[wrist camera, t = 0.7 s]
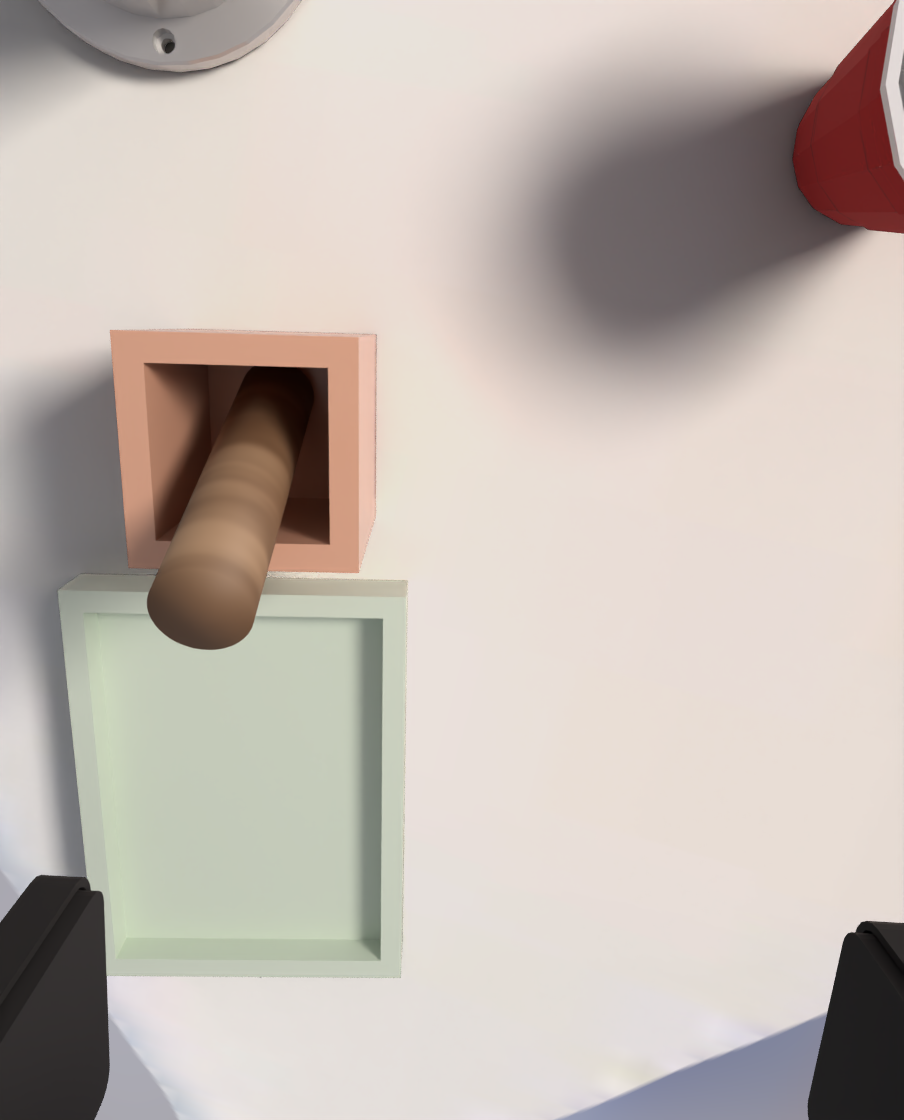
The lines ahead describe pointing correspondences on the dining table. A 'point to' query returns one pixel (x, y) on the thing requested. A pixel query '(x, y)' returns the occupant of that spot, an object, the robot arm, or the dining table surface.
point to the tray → (243, 780)
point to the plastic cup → (859, 133)
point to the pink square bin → (199, 413)
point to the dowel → (234, 515)
